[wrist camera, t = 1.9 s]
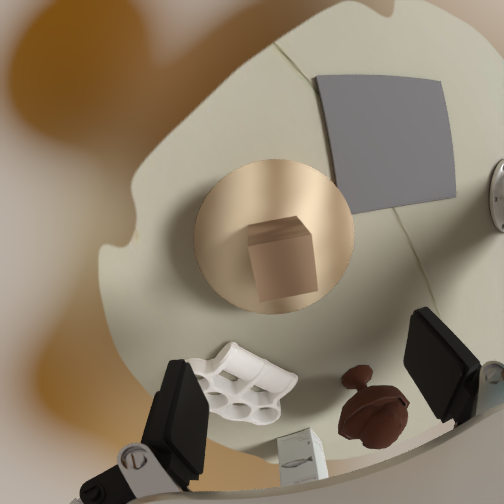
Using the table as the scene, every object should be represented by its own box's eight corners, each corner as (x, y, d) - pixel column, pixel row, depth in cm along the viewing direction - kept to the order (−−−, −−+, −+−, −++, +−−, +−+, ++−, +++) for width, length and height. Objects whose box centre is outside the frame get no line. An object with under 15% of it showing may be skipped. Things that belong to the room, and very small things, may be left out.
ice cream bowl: (312, 390, 39) (330, 467, 25) (357, 342, 36) (396, 420, 22) (355, 402, 41) (378, 468, 27) (398, 361, 38) (436, 426, 24)
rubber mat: (438, 82, 24) (440, 81, 23) (453, 196, 29) (456, 197, 28) (315, 76, 24) (316, 75, 24) (339, 214, 30) (341, 215, 29)
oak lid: (341, 148, 23) (373, 147, 16) (354, 293, 28) (379, 329, 21) (178, 178, 23) (153, 187, 17) (216, 320, 28) (209, 363, 22)
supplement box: (310, 426, 43) (320, 480, 31) (321, 440, 45) (331, 488, 34) (275, 437, 44) (280, 490, 32) (289, 450, 47) (295, 497, 35)
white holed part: (311, 377, 39) (254, 421, 42) (212, 324, 35) (165, 380, 39) (315, 392, 35) (255, 435, 39) (209, 339, 32) (160, 395, 35)
